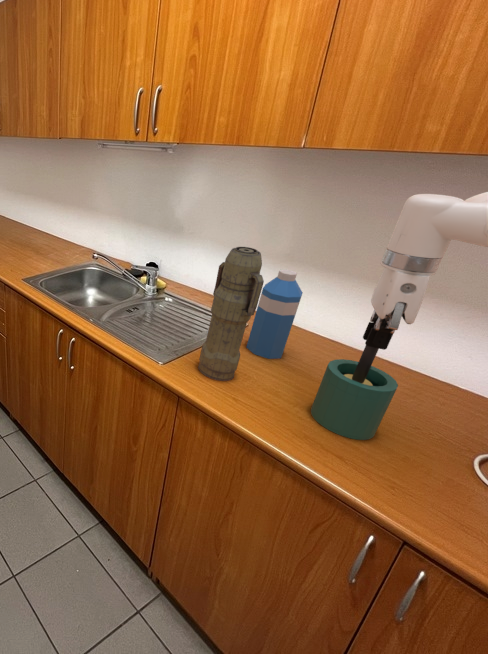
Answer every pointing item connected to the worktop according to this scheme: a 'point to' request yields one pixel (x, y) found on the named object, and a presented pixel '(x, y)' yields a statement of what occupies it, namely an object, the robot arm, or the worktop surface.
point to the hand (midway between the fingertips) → (374, 343)
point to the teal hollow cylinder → (352, 400)
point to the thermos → (231, 312)
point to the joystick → (364, 365)
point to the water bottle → (275, 315)
